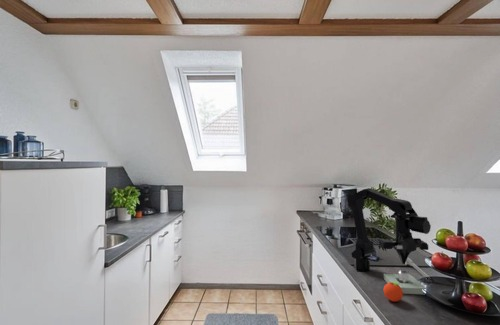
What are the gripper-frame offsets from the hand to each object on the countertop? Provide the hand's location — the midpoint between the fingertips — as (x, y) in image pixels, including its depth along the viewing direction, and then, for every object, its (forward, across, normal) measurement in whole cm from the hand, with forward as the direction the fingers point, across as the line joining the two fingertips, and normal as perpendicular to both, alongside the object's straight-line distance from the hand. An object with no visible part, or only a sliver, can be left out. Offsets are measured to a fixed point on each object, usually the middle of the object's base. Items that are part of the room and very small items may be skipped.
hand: (403, 263), depth 117 cm
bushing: (+10, 0, 0) cm, 10 cm away
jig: (+10, 0, 0) cm, 10 cm away
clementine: (+10, -9, -13) cm, 19 cm away
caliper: (+11, +14, +18) cm, 25 cm away
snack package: (+11, -2, +36) cm, 38 cm away
